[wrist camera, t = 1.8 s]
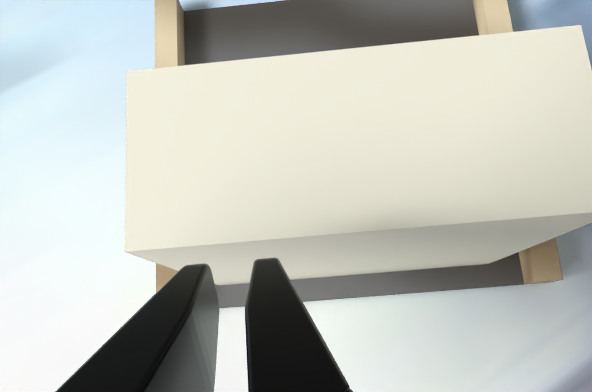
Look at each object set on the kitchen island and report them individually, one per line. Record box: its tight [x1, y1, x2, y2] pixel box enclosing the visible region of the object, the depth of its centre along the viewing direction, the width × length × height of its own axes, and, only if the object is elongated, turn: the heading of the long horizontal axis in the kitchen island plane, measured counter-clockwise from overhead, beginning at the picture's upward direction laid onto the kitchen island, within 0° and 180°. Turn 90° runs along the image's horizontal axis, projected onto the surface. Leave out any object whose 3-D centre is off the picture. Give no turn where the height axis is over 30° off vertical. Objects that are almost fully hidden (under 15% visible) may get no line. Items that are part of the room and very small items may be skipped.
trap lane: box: [155, 0, 563, 308], centre depth 22 cm, size 14×16×1 cm
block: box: [125, 25, 592, 286], centre depth 17 cm, size 4×11×10 cm, turn 94°
